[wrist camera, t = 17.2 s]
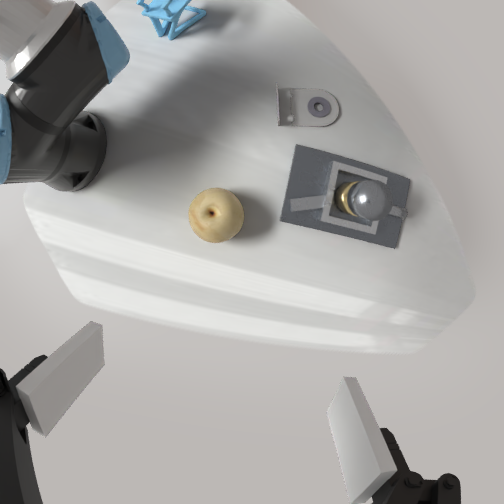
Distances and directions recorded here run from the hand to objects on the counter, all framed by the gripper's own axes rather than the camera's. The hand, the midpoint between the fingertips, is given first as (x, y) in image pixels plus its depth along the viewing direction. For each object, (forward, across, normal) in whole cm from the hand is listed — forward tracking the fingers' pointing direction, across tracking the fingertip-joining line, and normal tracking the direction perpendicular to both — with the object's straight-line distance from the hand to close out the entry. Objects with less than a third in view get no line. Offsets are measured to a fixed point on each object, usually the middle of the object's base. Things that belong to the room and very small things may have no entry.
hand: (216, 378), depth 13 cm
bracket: (+32, +4, +25) cm, 41 cm away
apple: (+32, -5, +5) cm, 33 cm away
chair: (+32, -21, +39) cm, 55 cm away
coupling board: (+32, +14, +12) cm, 37 cm away
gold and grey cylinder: (+31, +14, +12) cm, 36 cm away
